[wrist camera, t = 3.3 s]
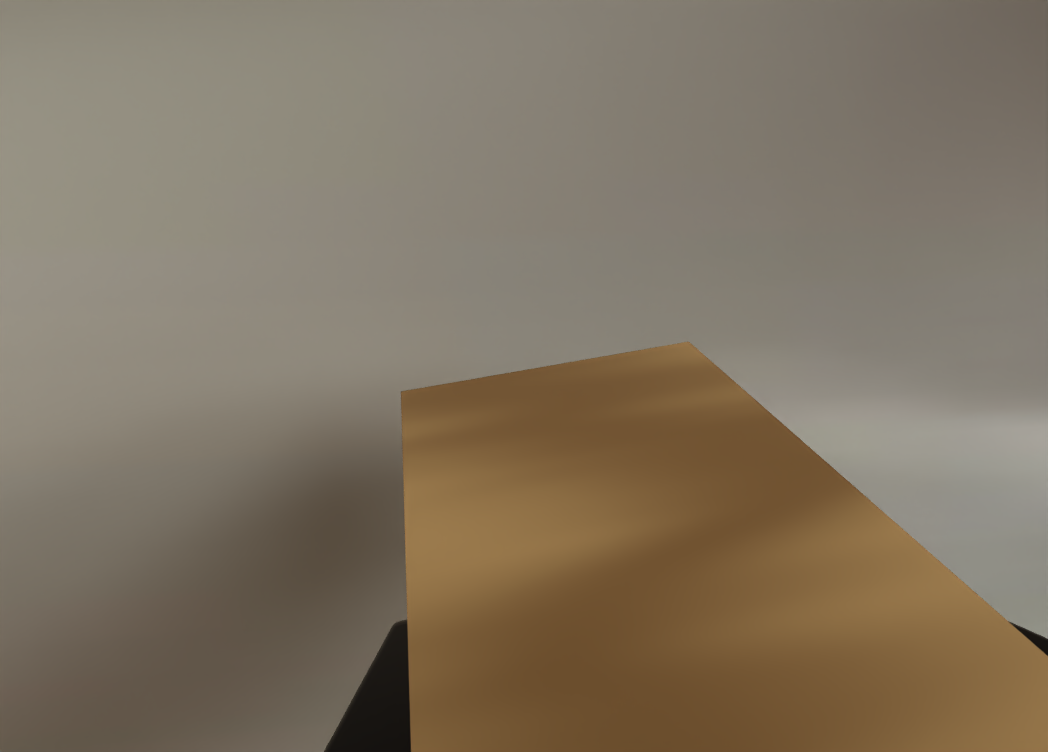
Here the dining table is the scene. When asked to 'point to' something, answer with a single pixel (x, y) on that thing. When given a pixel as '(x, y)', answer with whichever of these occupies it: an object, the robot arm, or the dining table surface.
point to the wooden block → (677, 581)
